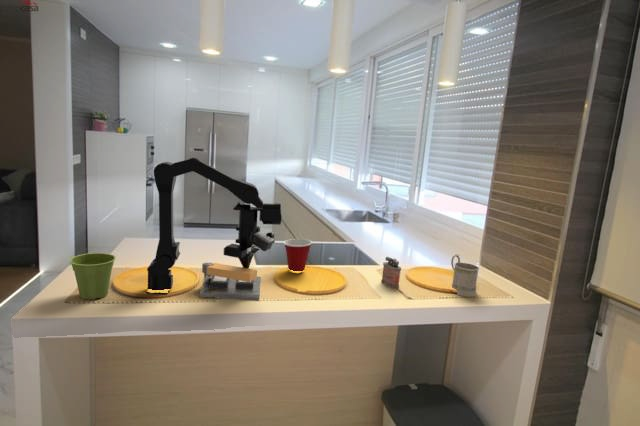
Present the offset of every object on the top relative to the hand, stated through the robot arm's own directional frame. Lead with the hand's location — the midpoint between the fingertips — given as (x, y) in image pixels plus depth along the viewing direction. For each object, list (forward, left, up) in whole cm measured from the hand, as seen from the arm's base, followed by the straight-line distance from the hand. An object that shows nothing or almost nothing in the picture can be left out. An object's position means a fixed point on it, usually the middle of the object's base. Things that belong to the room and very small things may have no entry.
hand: (246, 270), depth 135 cm
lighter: (+52, +10, -7) cm, 53 cm away
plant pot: (-43, -9, -7) cm, 45 cm away
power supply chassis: (-4, +1, -7) cm, 8 cm away
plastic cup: (+18, +21, -7) cm, 29 cm away
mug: (+78, +8, -7) cm, 79 cm away
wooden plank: (-6, -1, -1) cm, 6 cm away
